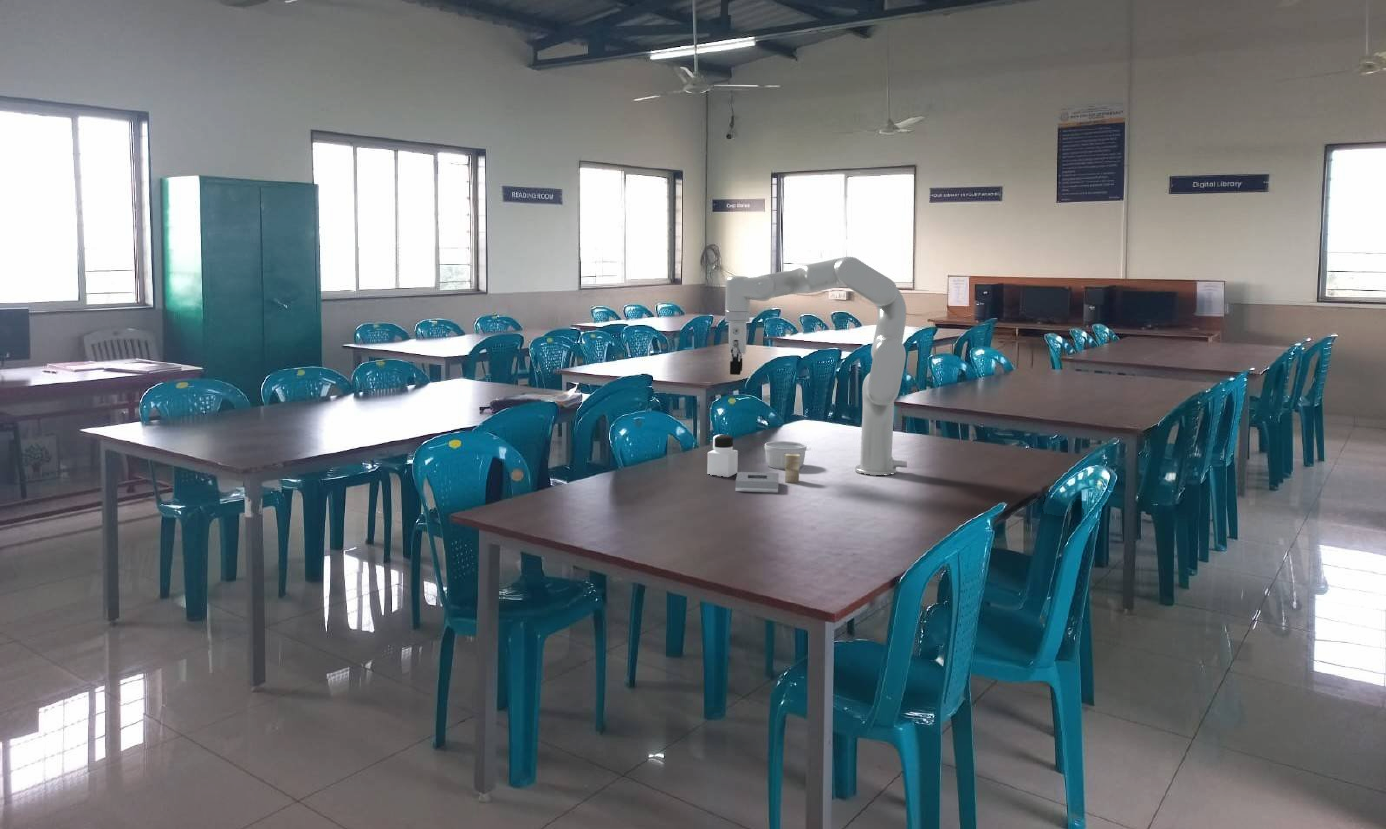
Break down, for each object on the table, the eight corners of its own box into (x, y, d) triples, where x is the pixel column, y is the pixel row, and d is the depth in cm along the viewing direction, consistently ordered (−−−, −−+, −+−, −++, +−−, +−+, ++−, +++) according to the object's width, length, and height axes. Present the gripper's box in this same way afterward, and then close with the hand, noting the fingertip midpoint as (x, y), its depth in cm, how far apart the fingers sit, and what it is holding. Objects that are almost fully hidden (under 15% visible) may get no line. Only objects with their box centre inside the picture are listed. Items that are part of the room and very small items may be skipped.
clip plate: (778, 483, 302) (778, 473, 302) (778, 492, 291) (778, 482, 290) (737, 481, 303) (737, 471, 303) (735, 491, 292) (735, 480, 291)
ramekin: (805, 462, 333) (806, 441, 332) (806, 471, 320) (806, 449, 319) (764, 461, 334) (765, 440, 333) (763, 469, 321) (763, 447, 320)
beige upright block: (798, 480, 306) (799, 454, 305) (798, 482, 303) (799, 456, 302) (785, 480, 307) (785, 453, 305) (785, 482, 304) (785, 455, 303)
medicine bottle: (737, 473, 315) (738, 434, 314) (728, 477, 309) (729, 438, 307) (716, 470, 318) (717, 432, 317) (706, 475, 312) (707, 436, 310)
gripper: (748, 319, 306) (747, 376, 309) (750, 315, 323) (749, 369, 326) (723, 318, 307) (722, 375, 309) (726, 315, 324) (725, 369, 326)
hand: (736, 372), depth 317 cm, fingers open, 9 cm apart
